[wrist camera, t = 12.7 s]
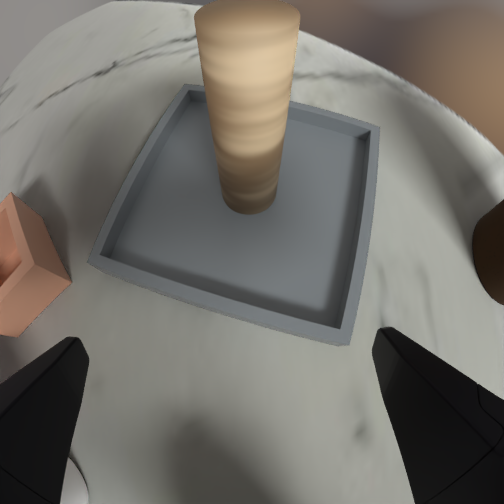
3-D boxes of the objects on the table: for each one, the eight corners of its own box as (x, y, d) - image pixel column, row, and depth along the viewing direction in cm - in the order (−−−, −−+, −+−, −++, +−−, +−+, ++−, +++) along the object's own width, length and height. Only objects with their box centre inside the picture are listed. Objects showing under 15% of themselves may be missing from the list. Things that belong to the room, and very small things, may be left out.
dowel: (287, 195, 21) (322, 20, 8) (243, 225, 21) (232, 43, 7) (254, 160, 22) (256, -9, 9) (211, 186, 22) (176, 13, 8)
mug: (44, 527, 12) (-14, 561, 2) (-4, 461, 14) (-72, 475, 4) (110, 501, 14) (42, 557, 5) (48, 420, 16) (-43, 435, 7)
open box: (72, 282, 20) (35, 263, 16) (17, 337, 19) (-22, 329, 14) (41, 216, 22) (11, 191, 17) (-7, 269, 20) (-40, 253, 16)
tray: (371, 144, 24) (379, 127, 22) (337, 346, 19) (349, 345, 16) (188, 102, 26) (184, 83, 24) (102, 271, 21) (86, 262, 18)
